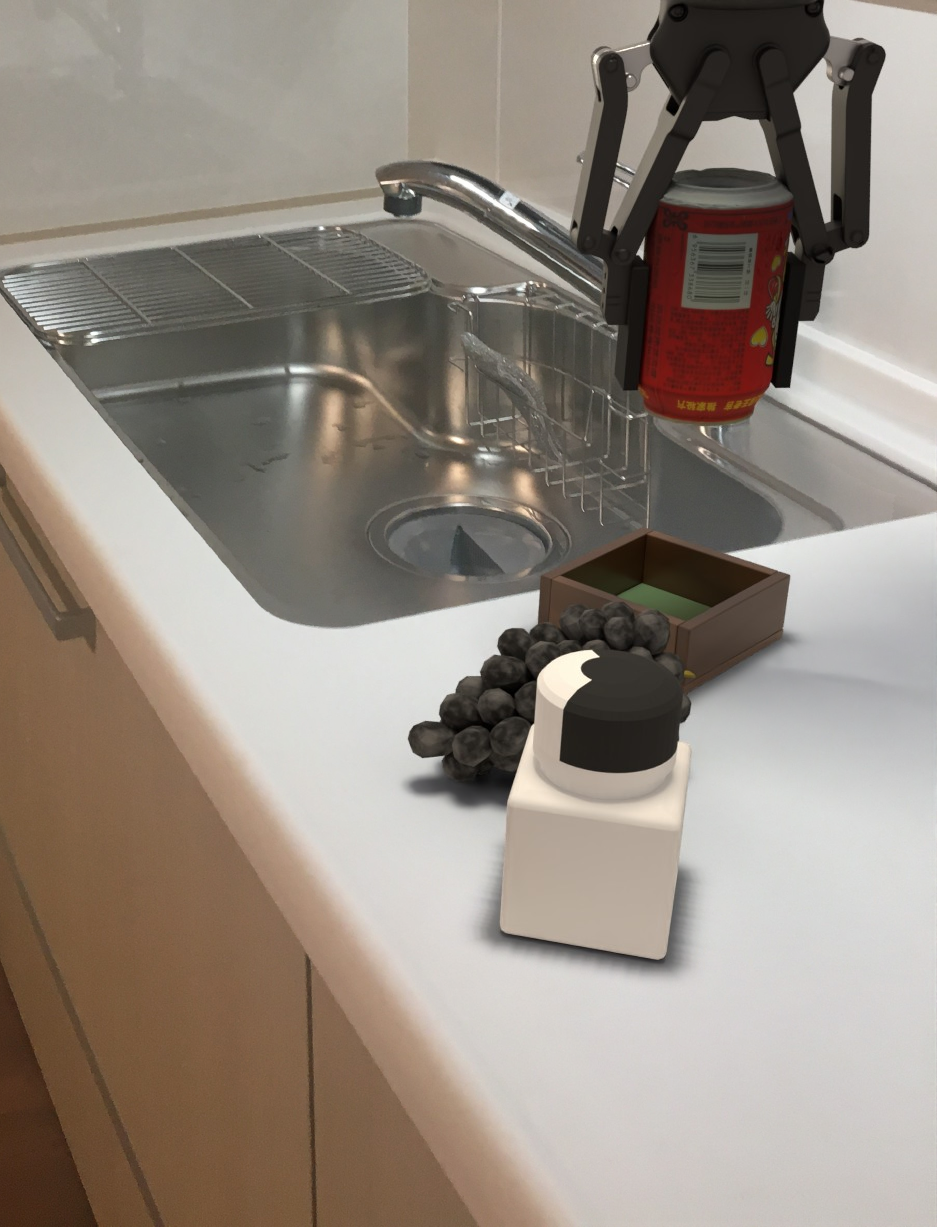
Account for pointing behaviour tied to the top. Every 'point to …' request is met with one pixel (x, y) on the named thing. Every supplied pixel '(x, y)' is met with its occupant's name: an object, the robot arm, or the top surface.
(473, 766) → the fruit
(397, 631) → the top surface
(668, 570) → the wooden box tray
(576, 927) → the medicine bottle
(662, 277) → the soda can
